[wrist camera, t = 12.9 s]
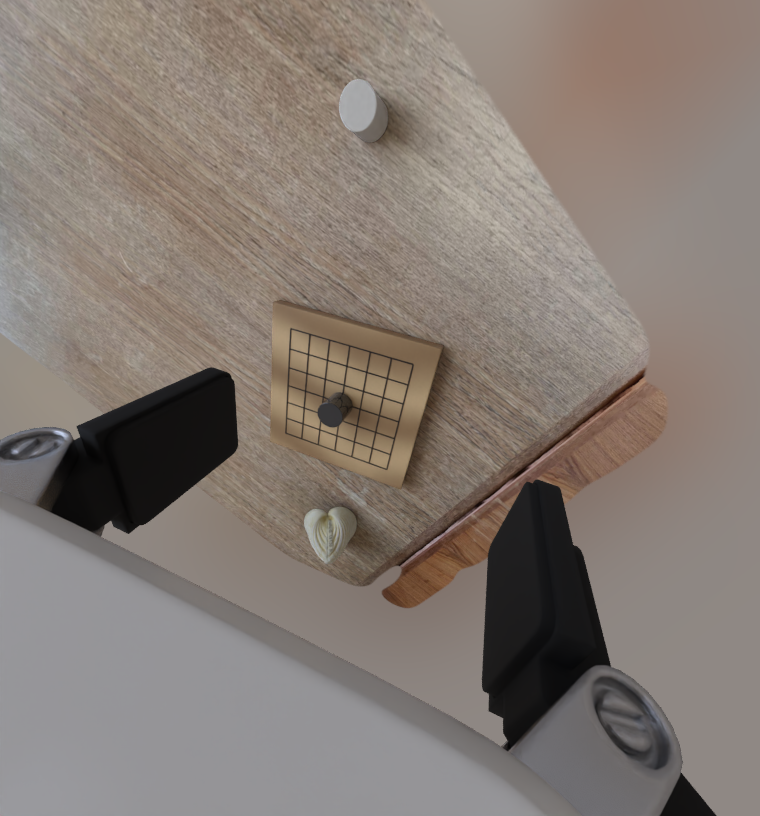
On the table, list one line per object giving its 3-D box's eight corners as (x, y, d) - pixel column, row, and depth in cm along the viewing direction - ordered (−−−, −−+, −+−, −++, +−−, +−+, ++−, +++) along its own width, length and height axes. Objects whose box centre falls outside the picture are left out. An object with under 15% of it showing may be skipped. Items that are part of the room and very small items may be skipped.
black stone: (330, 388, 40) (318, 399, 37) (354, 396, 39) (344, 407, 36) (327, 410, 41) (316, 422, 39) (351, 418, 41) (340, 431, 38)
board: (280, 299, 38) (272, 301, 37) (443, 345, 35) (441, 349, 33) (275, 436, 48) (269, 441, 47) (403, 482, 45) (400, 490, 43)
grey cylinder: (356, 92, 28) (341, 76, 25) (391, 97, 27) (380, 81, 25) (351, 139, 29) (336, 128, 27) (384, 145, 29) (372, 134, 26)
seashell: (355, 508, 46) (357, 567, 46) (356, 498, 55) (358, 547, 54) (297, 512, 46) (299, 571, 45) (307, 501, 54) (309, 551, 53)
